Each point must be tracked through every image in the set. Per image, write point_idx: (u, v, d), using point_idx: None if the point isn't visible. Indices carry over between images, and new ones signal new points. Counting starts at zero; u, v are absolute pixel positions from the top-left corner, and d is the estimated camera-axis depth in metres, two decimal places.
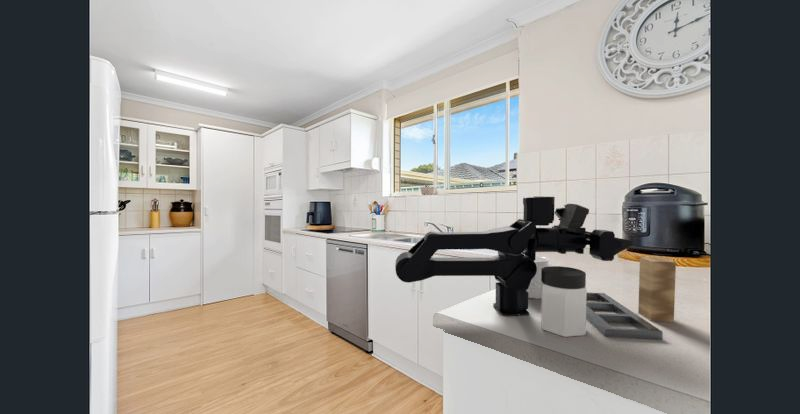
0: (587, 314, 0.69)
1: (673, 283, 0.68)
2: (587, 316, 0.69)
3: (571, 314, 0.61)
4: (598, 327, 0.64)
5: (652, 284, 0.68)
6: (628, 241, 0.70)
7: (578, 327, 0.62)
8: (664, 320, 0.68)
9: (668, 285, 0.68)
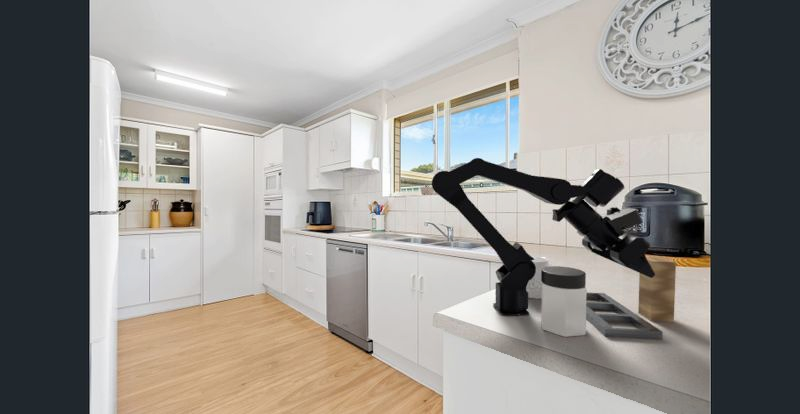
0: (587, 314, 0.69)
1: (673, 283, 0.68)
2: (587, 316, 0.69)
3: (571, 314, 0.61)
4: (598, 327, 0.64)
5: (652, 284, 0.68)
6: (651, 271, 0.65)
7: (578, 327, 0.62)
8: (664, 320, 0.68)
9: (668, 285, 0.68)
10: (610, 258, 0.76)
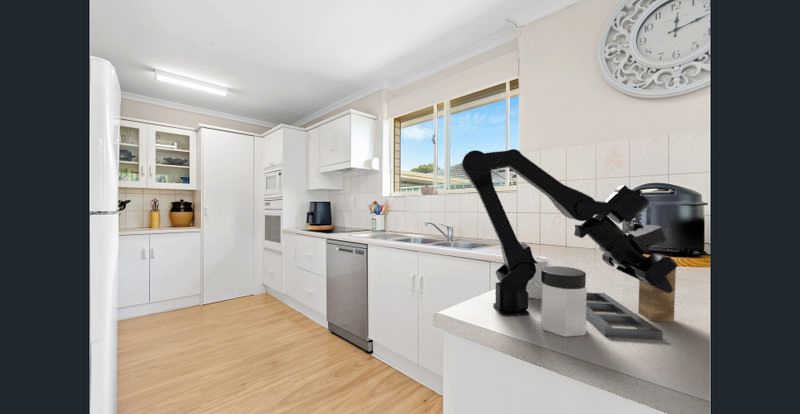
0: (587, 314, 0.69)
1: (673, 283, 0.68)
2: (587, 316, 0.69)
3: (571, 314, 0.61)
4: (598, 327, 0.64)
5: None
6: (669, 286, 0.67)
7: (578, 327, 0.62)
8: (664, 320, 0.68)
9: None
10: (637, 277, 0.73)
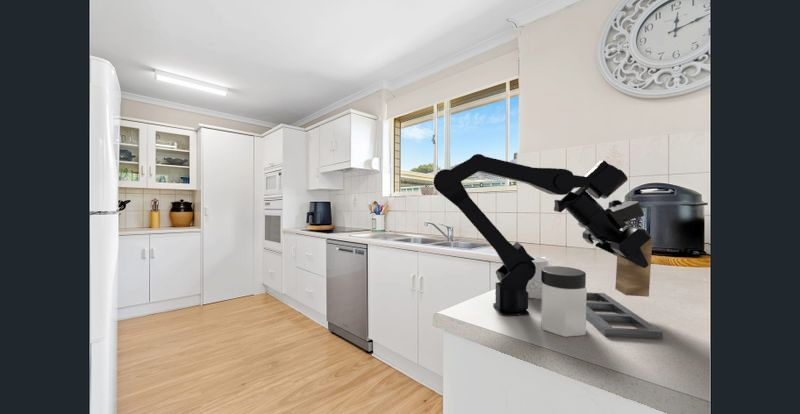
0: (587, 314, 0.69)
1: (649, 258, 0.68)
2: (587, 316, 0.69)
3: (571, 314, 0.61)
4: (598, 327, 0.64)
5: None
6: (645, 261, 0.68)
7: (578, 327, 0.62)
8: (639, 295, 0.69)
9: None
10: None
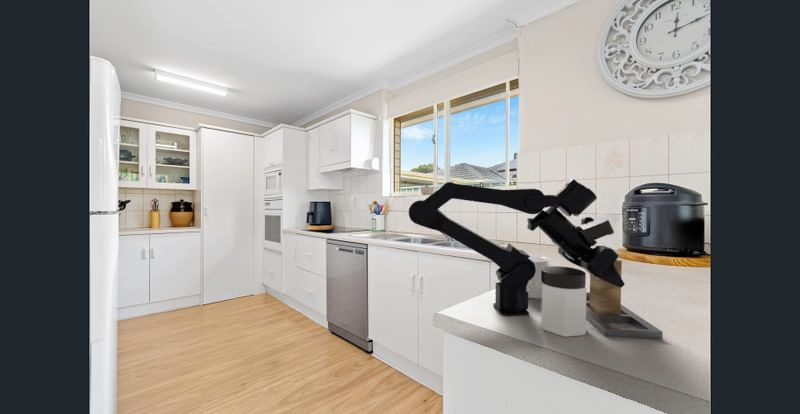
0: (587, 314, 0.69)
1: None
2: (587, 316, 0.69)
3: (571, 314, 0.61)
4: (598, 327, 0.64)
5: (599, 282, 0.70)
6: (621, 280, 0.67)
7: (578, 327, 0.62)
8: None
9: None
10: None
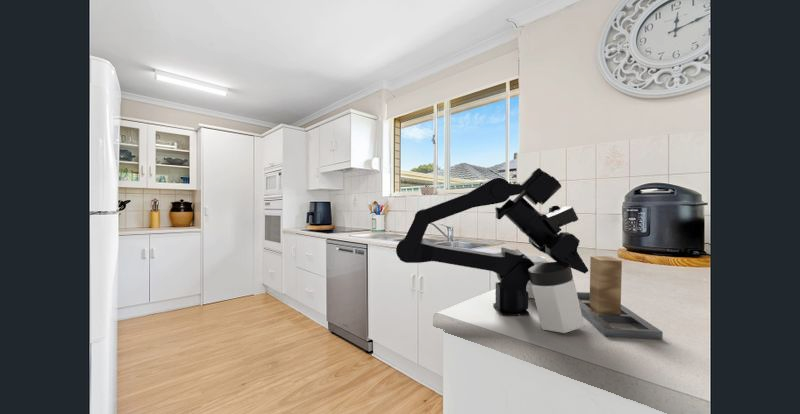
0: (587, 314, 0.69)
1: (619, 281, 0.69)
2: (587, 316, 0.69)
3: (565, 309, 0.61)
4: (598, 327, 0.64)
5: (599, 282, 0.70)
6: (584, 266, 0.68)
7: (575, 320, 0.62)
8: None
9: (615, 283, 0.69)
10: None
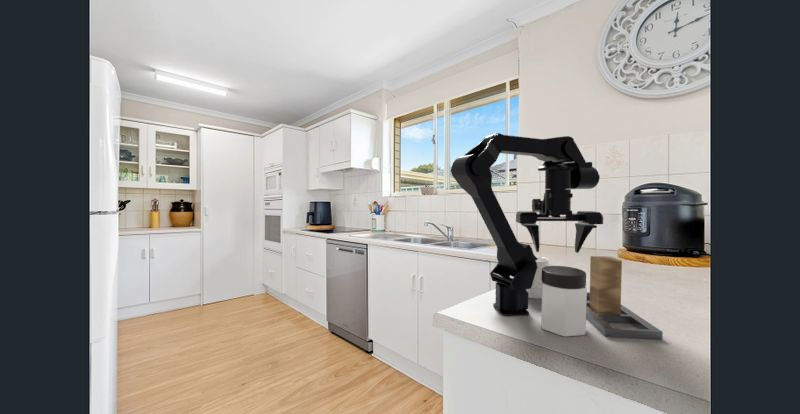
0: (587, 314, 0.69)
1: (619, 281, 0.69)
2: (587, 316, 0.69)
3: (571, 314, 0.61)
4: (598, 327, 0.64)
5: (599, 282, 0.70)
6: None
7: (578, 327, 0.62)
8: None
9: (615, 283, 0.69)
10: None
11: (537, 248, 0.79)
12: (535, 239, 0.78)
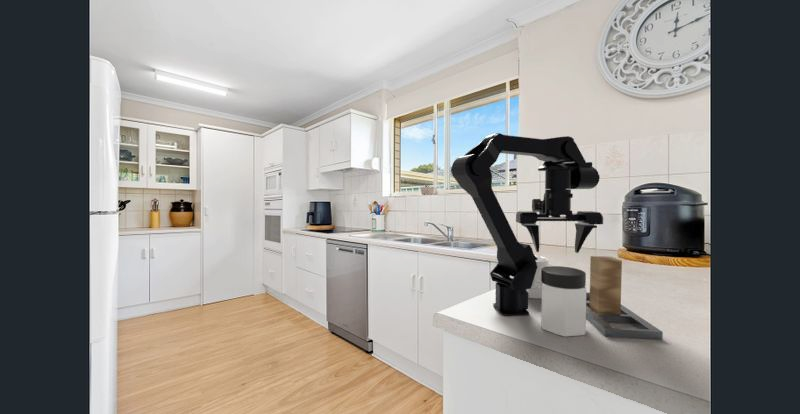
0: (587, 314, 0.69)
1: (619, 281, 0.69)
2: (587, 316, 0.69)
3: (571, 314, 0.61)
4: (598, 327, 0.64)
5: (599, 282, 0.70)
6: None
7: (578, 327, 0.62)
8: None
9: (615, 283, 0.69)
10: None
11: (537, 248, 0.79)
12: (535, 239, 0.78)
